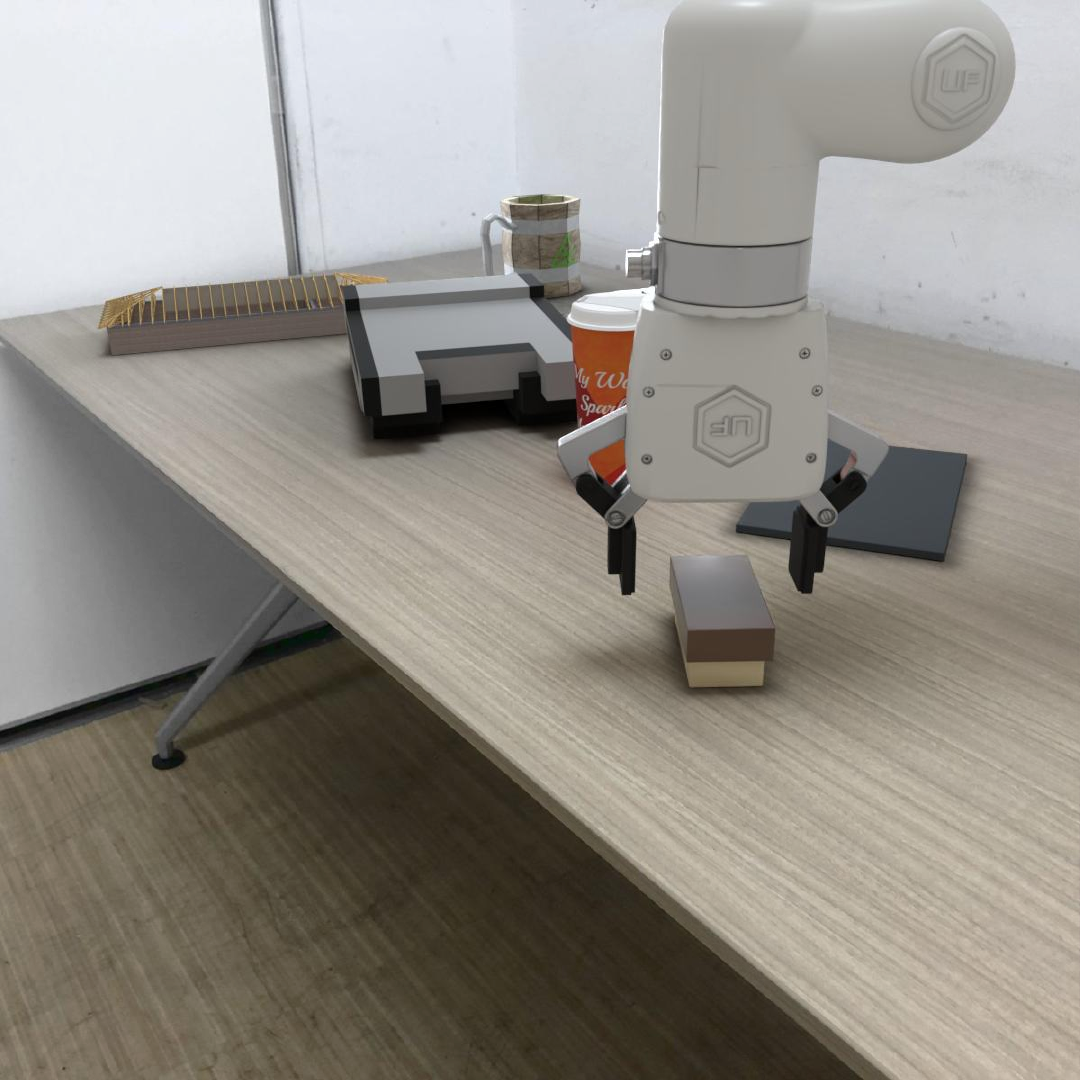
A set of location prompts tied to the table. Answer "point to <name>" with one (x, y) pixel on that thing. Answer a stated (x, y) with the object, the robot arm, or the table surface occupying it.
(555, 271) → the mug
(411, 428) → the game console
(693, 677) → the scrubber
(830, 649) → the table surface
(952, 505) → the mat
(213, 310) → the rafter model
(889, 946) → the table surface
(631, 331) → the paper cup
